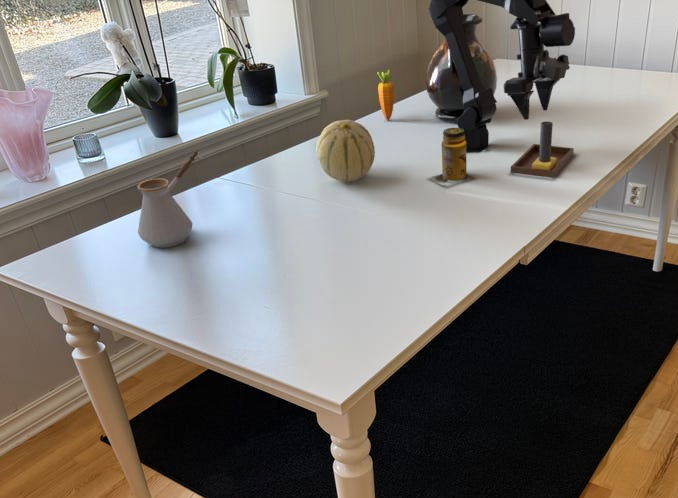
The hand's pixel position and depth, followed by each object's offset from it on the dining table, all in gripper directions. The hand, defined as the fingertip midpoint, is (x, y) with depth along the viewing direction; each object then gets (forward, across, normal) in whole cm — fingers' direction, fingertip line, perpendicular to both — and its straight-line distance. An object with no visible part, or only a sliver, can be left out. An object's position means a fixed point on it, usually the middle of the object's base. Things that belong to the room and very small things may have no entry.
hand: (536, 114), depth 174 cm
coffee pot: (+6, -78, +46) cm, 91 cm away
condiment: (+11, -21, +13) cm, 27 cm away
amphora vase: (+6, +23, +41) cm, 47 cm away
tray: (+12, -1, -2) cm, 12 cm away
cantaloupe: (+8, -35, +35) cm, 50 cm away
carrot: (+4, +8, +58) cm, 59 cm away
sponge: (+12, -5, -4) cm, 14 cm away
